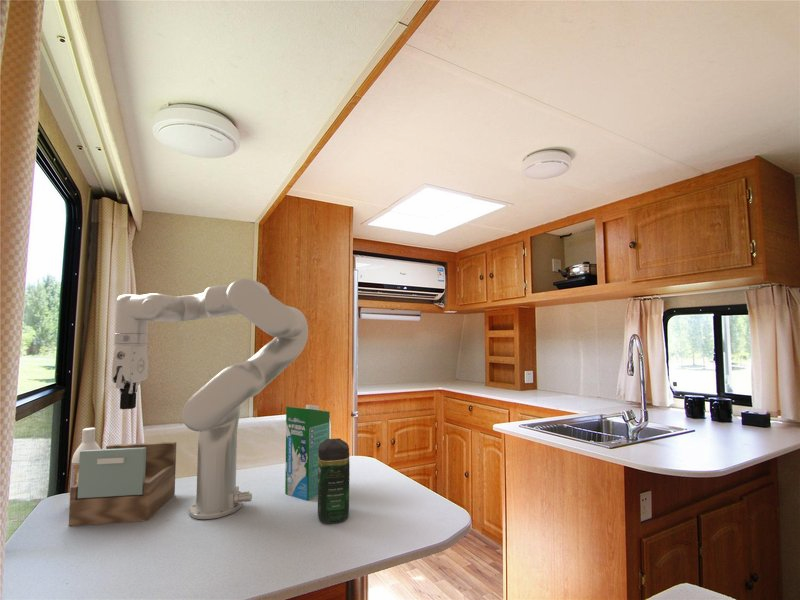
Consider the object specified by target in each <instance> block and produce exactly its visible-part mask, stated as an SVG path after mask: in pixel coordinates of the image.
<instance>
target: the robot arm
mask: <svg viewBox="0 0 800 600" xmlns="http://www.w3.org/2000/svg"><path fill="white" fill-rule="evenodd" d="M235 315H242V316H243V317H244V318H245V319H246V320H248V321H249V322H251V323H252V324H253V325H254V326H256V327H257V328H258V329H260V330H262V332H264V333H266V334H267V335H269V336H271V337H273V339H272V340H270V341H269V342H268V343H266V344H265V345H264V346H263V347H261V348H260V349H259V350H258V351H257V352H256V353H254V354H253V355H252V356H251V357H249V358H248V359H246V360H245V361H243V362H238V363H234V364H231V365H228V366H226V367H225V368H224V369H222V370H221V371H220V372H218V373H217V374H216V375H214V377H213V378H211V379H210V380H208V382H207V383H205V384H204V385H203V386H202V387H200V389H198V390H197V391H196V392H195V393H194V394H192V395H191V396H190V397H189V398H188V400H187V401H186V402H185V404H184V406H183V409H182V413H181V415H182V416H181V417H182V422H183V423H184V425H185V426H186V427H187V429H189V430H191V431H194V432H199V434H198V440H197V462H196V464H197V467H196V468H197V469H196V499H195V500H196V501H195V502H194V503H193V504H192V505H191V506H190V507H189V509H188V510H189V511H188V513H189V514H188V515H189V516H190V517H191V518H193V519H197V520H198V519H199V520H211V519H217V518H222V517H225V516H229V515H231V514H233V513H235V512H236V511H238V510H239V509H240V508H242V503H247V502H252V499H253V493H250V491H249V490H247V491H241V490H240V486H238V485H237V448H238V429H239V428H238V427H239V419H240V413H241V405H242V404H243V403H244V402H246V401H247V400H249V399H251V398H253V397H255V396H257V395H259V394H260V393H261V392H262V391H263V390H264V389H265V388H266V387H267V386H268V385H269V384H270V383H271V382H273V380H275V379H276V378H277V377H278V376H280V374H281V373H283V372H284V370H286V368H288V367H289V366H291V364H293V362H294V361H295V360H296V359H297V358H298V357H299V356H300V354H301V353H302V352H303V351H304V349H305V347H306V345H307V342H308V338H309V325H308V321H307V318H306V316H305V315H304V313H303V311H301V310H299V309H298V308H296V307H292V306H289V305H285V304H284V303H283V302H281V301H280V300H279V299H277V298H275V296H273V295H271V292H270V289H269V288H268V287H267V286H266V285H265V284H263V283H261V282H259V281H256V280H253V279H250V278H240V279H236V280H235V281H233V282H232V283H230V284H225V285H222V284H221V285H214V286H213V285H212V286H208V287H206V288H205V289H204V292H201V293H195V294H189V295H181V296H180V295H178V296H175V295H170V294H164V293H156V292H155V293H146V294H140V295H139V294H121V295H119V296H118V297H117V298H116V304H115V321H114V322H115V324H114V343H113V346H114V351H113V359H112V365H111V381H112V383H114V384H115V388H116V389H118V390H119V395H120V400H119V409H120V410H132V409H135V408H136V406H137V392H138V388H139V385H141V384H142V381H143V382H144V381H145V380H147V379H148V377H149V354H148V347H147V345H148V334H149V333H148V332H149V331H148V330H149V322H164V323H165V322H167V323H179V322H189V321H194V320H196V321H197V320H204V319H212V318H221V317H228V316H235Z"/></svg>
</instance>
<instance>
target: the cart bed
mask: <svg viewBox="0 0 800 600" xmlns="http://www.w3.org/2000/svg"><path fill="white" fill-rule="evenodd" d="M142 447H146V467H145V483H144V493H143V494H141V495H125V496H108V497H92V498H77V496H78V484H76V485H74V486H73V487H71V489H70V488H69V502H70V503H69V508H68V509H69V511H68V526H69V525H72V526H86V525H98V524H101V525H102V524H114V523H115V522H116V523H127V522H129V523H130V522H131V523H132V522H142V520H145V521H149V520H150V519H151V518H152V517H153V516H154V515H155V514H156V513H158V511H159V510H161V508H163V507H164V506H165V505H166V504H167V503H168V502H169V501H170V500H171V499H172V498H173V497H174V496H175V494H176V468H177V467H176V463H177V441H168V442H167V441H166V442H165V441H164V442H163V441H162V442H147V443H142V442H141V443H123V444H122V443H120V444H109V445H106V447H105V449H120V448H142ZM164 504H165V505H164ZM163 505H164V506H163ZM148 519H149V520H148Z"/></svg>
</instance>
